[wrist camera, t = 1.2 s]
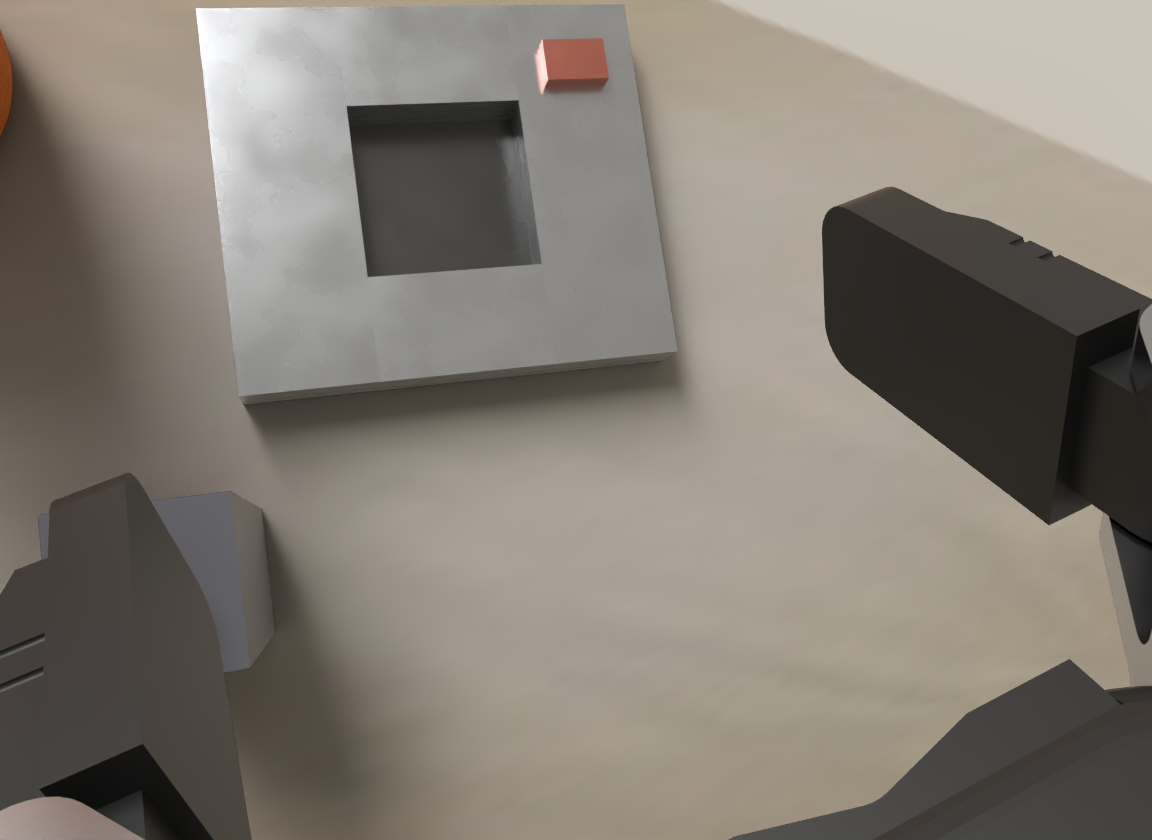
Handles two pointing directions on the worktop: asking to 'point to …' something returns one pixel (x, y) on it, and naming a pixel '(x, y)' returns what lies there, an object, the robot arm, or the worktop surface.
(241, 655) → the plug
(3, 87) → the wine bottle
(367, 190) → the socket
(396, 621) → the worktop surface
